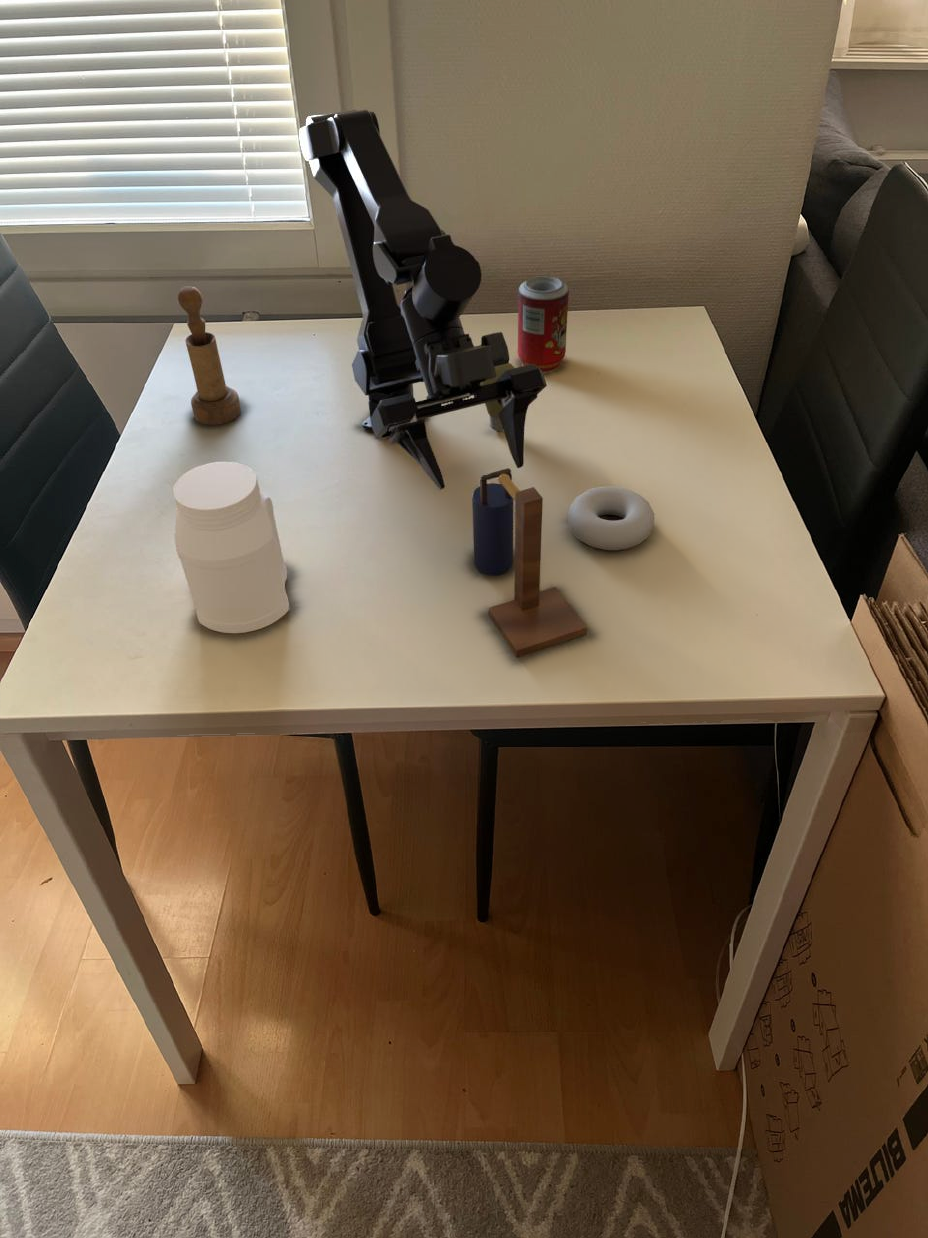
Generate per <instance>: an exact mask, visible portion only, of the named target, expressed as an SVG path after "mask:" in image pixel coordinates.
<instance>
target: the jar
mask: <svg viewBox="0 0 928 1238" xmlns="http://www.w3.org/2000/svg"><path fill="white" fill-rule="evenodd" d="M172 496H173V499H174V503H175V506H176V510H175V511H176V514H175V515H176V516H175V528H174V529H175V530H174V543H175V548H176V549H175V551H176V553H177V556H178V559H179V560H180V563H181V566H182V569H183V573H184V576H185V579H186V582H187V585H188V589H189V592H190V595H191V598H192V602H193V605H194V608H195V611H196V617H197V620H198V623H199V624H201V626H203V627H205V628H206V629H209V630H211V631H215V632H218V633H224V634H244V633H250V632H255V631H257V630H260V629H263V628H266V627H268V626H270V625H272V624H274V623H275V622H278V621H279V620H280V619H281V618H282V617H284V616H285V615H286V614H287V613H288V612H289V611H290V602H289V601H290V600H289V597H288V594H287V591H286V581H287V579H288V571H287V567H286V562H285V561H284V556H283V555H284V554H283V552H282V546H281V541H280V537H279V532H278V527H277V523H276V517H275V514H274V505H273V500H272V499H271V497H269V496H268V495H266V494H265V493H264V492H262V491H261V490H260V485H259V482H258V478H257V475H256V473H255V472H254V470H252V468H250V467H248V466H247V465H245V464H242V463H239V462H235V461H215V462H209V463H205V464H202V465H199V466H196V467H194V468H192V469H189V470H188V471H186V472H184V474H182V475H181V476H180V477H179V478H178V479H177V480H176V482H175V484H174V486H173V489H172Z"/></svg>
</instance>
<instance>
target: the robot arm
mask: <svg viewBox="0 0 928 1238" xmlns="http://www.w3.org/2000/svg"><path fill="white" fill-rule="evenodd" d="M298 135H299V142H300V147H301V152H302V155H303V157H304V159H305V161H307V162H309V165H310V168H311V172H312V175H313V178H314V180H315V181H316V182H317V183H318V184H319V185H320V186H321V187H322V188H323V189H324V190H325V191H326V192H327V194H329V195H330V197H331V198H332V201H333V204H334V208H335V213H336V216H337V221H338V224H339V228H340V233H341V235H342V239H343V243H344V247H345V251H346V254H347V258H348V262H349V266H350V270H351V274H352V278H353V282H354V285H355V289H356V293H357V298H358V301H359V304H360V309H361V312H362V318H361V322H360V327H359V329H358V332H357V333H358V334H357V337H356V343H357V347H358V350H357V352H356V354H355V356H354V359H353V361H352V363H351V368H352V373H353V378H354V381H355V383H356V384H357V386H358V387H359V389H360V390H361V391H362V393H363V394H364V396H368V411H369V416H368V417H367V418H366V419H365V420H364V421H363V422H362V423H361V424H362V425H361V426H362V428H363V429H366V430H370V431H373V435H374V438H375V440H383V439H388V442H389V444H390V445H395V444H398V445H399V446H400V447H401V448H402V449H403V450H404V451H405V453H407V454H408V455H409V456H410V457H412V459H413V460H414V461H415V462H416V463H417V464H418V465H419V466H420V467H421V469H422V470H423V472H424V473H425V474H426V475H427V477H429V479H430V480H431V481H432V482H433V483H434V485H435V486H436V487H437V489H439V490H444V488H445V487H446V485H445V480H444V477H443V473H442V471H441V470H442V469H441V468H440V466H439V462H438V460H437V458H436V455H435V453H434V450H433V447H432V446H431V444H430V441H429V438H428V434H427V433H428V432H427V428H426V422H425V419H428V418H432V417H435V416H439V415H444V414H448V413H451V412H456V411H459V410H464V409H467V408H468V409H469V408H472V407H476V406H480V405H485V403H488V402H492V401H497V403H499V404H500V405H502V406H503V409H502V410H501V411H500V412H499V413H498V414H499V417H500V421H501V424H502V427H503V430H502V431H503V433H504V436H505V440H506V442H507V446H508V449H509V452H510V455H511V457H512V460H513V461H514V464H515V466H516V468H517V469H520V468H522V467H523V466H524V459H525V458H524V457H525V456H524V455H525V427H526V426H525V425H526V418H527V412H528V409H529V406H530V405H531V404H532V403H533V402H534V401H535V400H536V399H537V398H538V395H539V394H540V393H541V392H542V391H543V390H544V389H545V388H547V386H548V384H547V381H546V378H545V375H544V374H545V373H543V371H542V370H541V369H540V368H539V367H537V366H536V365H535V364H530V365H526V366H518V367H515V368H513V369H509V370H506V371H505V372H504V373H503V374H502V375H501V376H500V377H499V379H498V380H497V381H496V382H495V383H491V384H487V385H483V386H481V384H480V383H481V382H484V381H486V380H488V379H492V378H495V377H496V372H495V366H499V365H503V364H508V362H509V363H510V354H509V349H508V344H507V342H506V339H505V336H504V334H503V331H498V332H497V331H496V332H494V333H493V332H492V333H488V334H485V335H482V336H481V337H480V345H474V344H473V340H472V338H471V336H470V333H465V331H464V327H463V324H462V321H461V318H460V316H462V314H463V313H464V311H465V310H466V309H467V307H468V305H469V304H470V302H471V301H472V299H473V297H474V296H475V295H476V293H477V292H478V290H479V288H480V285H481V283H482V268H481V265H480V262H479V261H478V260H476V258H475V256H474V255H473V254H472V253H471V252H469V251H468V250H466V249H465V248H464V247H461V246H459V245H456V244H455V243H454V242H453V239H452V237H451V234H447V233H446V232H445V230H443V229H441V227H440V225H439V223H438V222H437V220H436V219H435V217H434V215H433V214H432V213H431V211H430V210H429V209H428V208H427V207H425V206H423V205H421V204H419V203H417V202H416V201H414V200H412V198H411V197H410V194H409V192H408V191H407V189H406V187H405V185H404V182H403V180H402V178H401V175H400V174H399V172H398V170H397V168H396V166H395V164H394V161H393V160H392V157H391V155H390V153H389V151H388V149H387V147H386V145H385V142H384V140H383V138H382V136H381V132H380V125H379V121H378V117H377V115H376V113H375V112H374V111H373V110H370V111H369V110H368V109H359V110H357V109H350V110H343V111H337V112H331V113H324V114H316V115H310V116H307V118H306V122H305V125H304V126H303V127H301V128H300V129H299V134H298ZM409 283H412V286H411V287H409V289H407V290H405V291H404V294H403V297H402V299H401V301H400V304H399V303H398V301H397V297H396V292H395V289H394V286H399V285H404V284H409ZM417 383H424V386H425V389H426V392H427V396H426V399H423V400H418V401H416V398H415V397H414V384H417ZM472 396H473V397H472Z"/></svg>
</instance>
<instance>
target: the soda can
mask: <svg viewBox="0 0 928 1238" xmlns="http://www.w3.org/2000/svg"><path fill="white" fill-rule="evenodd" d="M517 290H518V293H517V294H518V297H517V298H518V302H517V304H518V305H517V356H518V358H519V361H520V362H521V365H522V366H526V365H530V364H535V365H536V366H537V367H539V368H540V369H541V370H542V371H543V374H548V373H552V372H554V371H557V370H558V369H559V368H560V366H561V363H562V362H563V359H564V358H565V356H566V352H567V349H566V348H567V329H568V311H569V296H570V295H569V294H570V288H569V286H568V284H566V283H565V281H564V280H562V279H561V278H560V279H559V278H557V277H554V276H542V275H538V276H537V275H536V276H534V277H531V278H528V279H526V280H525V281H524V282H522V283H521V284H520V285H519V287H518V289H517ZM522 366H521V367H522Z"/></svg>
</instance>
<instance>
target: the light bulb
mask: <svg viewBox="0 0 928 1238" xmlns="http://www.w3.org/2000/svg"><path fill="white" fill-rule="evenodd" d="M513 368H516V367H515V366H514V365H513V364H512V363H511V362H510V361H509V362H508V364H503V365H499V366H495V372H496V377H495V378H492V379H488V380H486V381H484V382H481V383H480V384H481V386H483V385H487V384H491V383H495V382H496V381H497V380H498V379H499V377H500V376H501V375H502V374H503V373H504V372H505V371H506V370H509V369H513ZM484 405H485V408H486V411H487V414H488V415H489V427H490V428H491V429H492V430H494V431H496V432H498V433H501V432H503V431H504V430H503V427H502V424H501V421H500V417H499V414H498V413H499V412H500V411H501V410H502V409H503V406H502V405H500V404H499V403H497V401H492V402H488V403H484Z"/></svg>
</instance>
